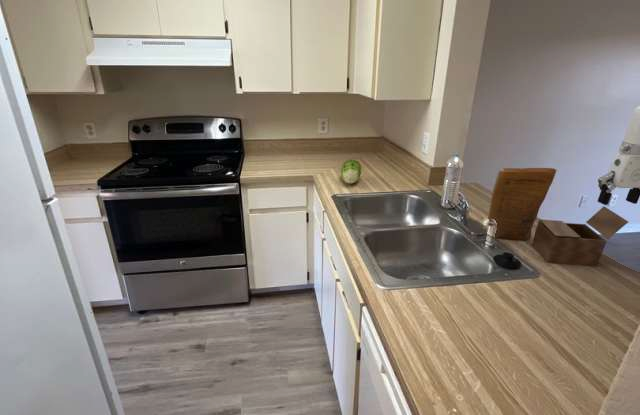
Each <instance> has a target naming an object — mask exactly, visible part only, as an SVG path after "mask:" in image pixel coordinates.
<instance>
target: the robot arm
mask: <svg viewBox="0 0 640 415" xmlns="http://www.w3.org/2000/svg"><path fill="white" fill-rule="evenodd" d="M618 149H619V150H618V152H617V153H616V155H615V157H614V158H613V160H612V162H611V164H610V166H609V169H608V171H607V173H606V174H604V175H602V176H600V177H598V178H597V183H598V188H599V191H600V192H599V196H598V198H597V202H598V203H599V204H601V205H603V206H608V205H609V203H610V201H611V197H612V195H613V193H612V192H613V191H614V190H615V189H616V188H618V189H629V190H628V192H627V195H626V198H625V201H626V202H629V203H631V204H633V205H634V204H635V205H637V204H638V203H639V202H638V201H639V199H640V105H638V106H636V107H635V108H634V110H633V111H632V114H631V117H630V119H629V123H628V126H627V128H626V131H625V133H624V137H623V139H622V142H621V144H620V146H619V148H618Z"/></svg>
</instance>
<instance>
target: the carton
mask: <svg viewBox="0 0 640 415" xmlns="http://www.w3.org/2000/svg"><path fill="white" fill-rule="evenodd" d="M607 243H608V240H607V239H605V237H604V236H602V235H601V234H600V233H598V232H596V230H594V229H592V227H591V226H590V227H589V225H588V224H587V223H573V222H565V221H563V220H556V219H555V220H554V219H539V220H538V222H537V224H536V229H535V232H534V235H533V238H532V241H531V246H532V247H533V248H534V249H535V251H536V252H537V253H538V254H539V255H540V257H542V258H543V260H544V261H545V262H546V263H547V264H548V263H550V264H561V265H573V266H574V265H575V266H587V267H598V265H599V262H600V260H601V257H602V254H603V252H604V250H605V247H606V244H607Z"/></svg>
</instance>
